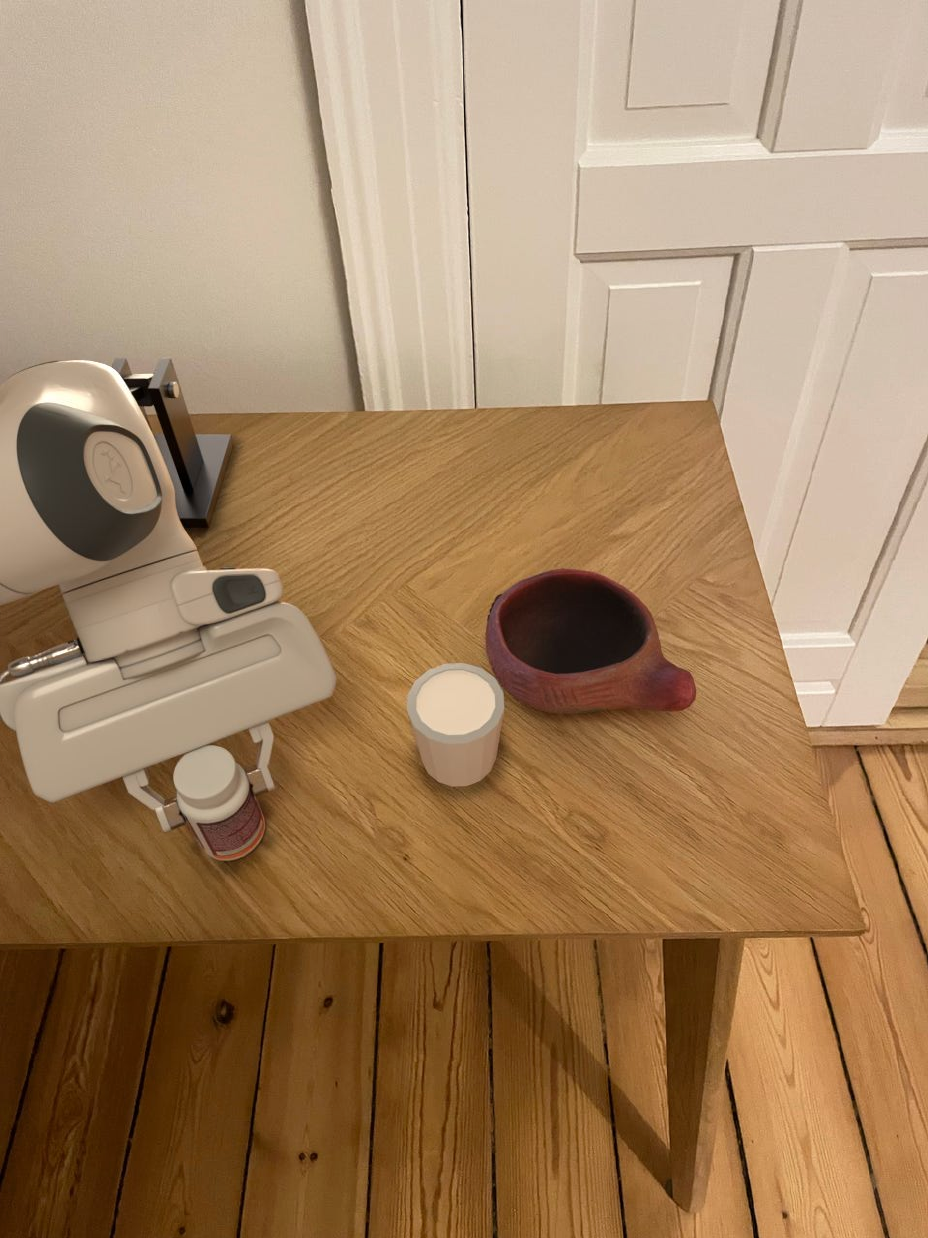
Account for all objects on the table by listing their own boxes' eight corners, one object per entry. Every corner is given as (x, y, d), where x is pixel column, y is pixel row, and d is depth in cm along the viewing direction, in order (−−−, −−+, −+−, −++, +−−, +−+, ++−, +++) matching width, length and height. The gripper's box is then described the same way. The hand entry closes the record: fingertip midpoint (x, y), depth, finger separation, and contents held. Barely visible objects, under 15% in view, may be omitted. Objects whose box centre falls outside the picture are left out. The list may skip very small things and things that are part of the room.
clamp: (208, 527, 87) (171, 416, 77) (113, 527, 87) (64, 416, 77) (234, 443, 94) (202, 332, 85) (146, 443, 95) (104, 332, 85)
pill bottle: (278, 815, 67) (255, 754, 61) (241, 873, 65) (214, 815, 58) (223, 792, 69) (195, 729, 62) (185, 846, 66) (151, 787, 60)
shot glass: (521, 741, 71) (523, 687, 66) (473, 810, 68) (471, 760, 62) (445, 702, 74) (441, 647, 68) (395, 767, 70) (386, 714, 65)
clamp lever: (128, 427, 73) (124, 396, 72) (59, 427, 73) (53, 396, 72) (180, 401, 84) (177, 373, 83) (120, 401, 84) (116, 373, 83)
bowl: (468, 724, 72) (465, 662, 66) (503, 601, 80) (504, 535, 74) (679, 765, 69) (696, 704, 63) (694, 633, 77) (711, 567, 71)
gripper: (-30, 675, 56) (57, 887, 57) (299, 564, 61) (369, 761, 62) (-8, 666, 62) (70, 857, 63) (289, 565, 67) (353, 745, 69)
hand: (221, 808), depth 63 cm, fingers closed on pill bottle, 5 cm apart
